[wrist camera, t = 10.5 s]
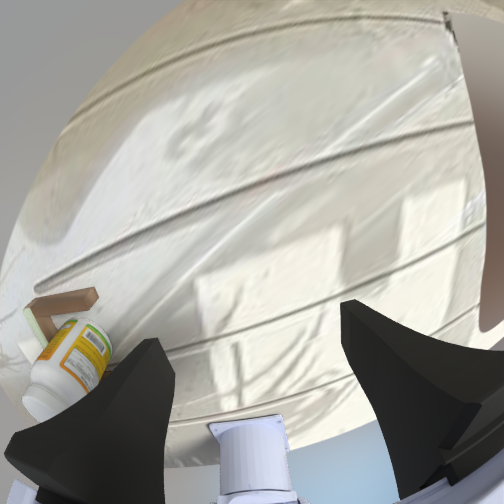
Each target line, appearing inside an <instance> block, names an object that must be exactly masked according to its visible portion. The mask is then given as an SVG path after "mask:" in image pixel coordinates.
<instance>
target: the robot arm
mask: <svg viewBox="0 0 504 504" xmlns="http://www.w3.org/2000/svg"><path fill="white" fill-rule="evenodd" d="M340 314H341V344H342V347H343V350H344V352H345V355H346V357H347V360H348V362H349V365H350V367H351V368H352V370H353V372H354V374H355V376H356V378H357V379H358V381H359V383H360V385H361V387H362V389H363V390H364V392H365V394H366V396H367V398H368V400H369V402H370V403H371V405H372V408H373V410H374V412H375V414H376V417H377V420H378V422H379V425H380V428H381V430H382V433H383V436H384V439H385V442H386V445H387V448H388V452H389V455H390V459H391V463H392V466H393V470H394V474H395V479H396V483H397V488H398V493H399V498H400V501H398V502H396V503H393V504H504V351H491V350H483V349H475V348H469V347H464V346H460V345H456V344H452V343H448V342H444V341H441V340H438V339H435V338H432V337H429V336H426V335H424V334H421V333H419V332H416V331H414V330H412V329H410V328H408V327H405V326H403V325H401V324H399V323H397V322H395V321H393V320H391V319H390V318H388V317H386V316H384V315H382V314H380V313H379V312H377V311H375V310H373V309H372V308H370V307H368V306H366V305H365V304H363V303H361V302H359V301H357V300H355V299H353V300H349V301H346V302H342V303H340ZM174 389H175V372H174V370H173V368H172V366H171V364H170V362H169V360H168V358H167V356H166V354H165V352H164V350H163V348H162V346H161V344H160V342H159V340H158V338H151V339H144V340H143V341H142V342H141V343H140V344H139V345H138V346H137V347H135V348H134V349H133V351H132V352H131V353H130V354H129V355H128V356H127V357H126V358H125V359H124V360H123V361H122V362H121V363H120V364H119V365H118V366H117V367H116V368H115V369H114V370H113V371H112V372H111V373H110V374H109V375H108V376H107V377H106V378H105V379H104V380H102V381H101V382H100V383H99V384H98V385H97V386H96V387H95V388H94V389H93V390H91V391H90V392H89V393H88V394H87V395H85V396H84V397H83V398H81V399H80V400H79V401H77V402H76V403H75V404H73V405H71V406H70V407H68V408H67V409H65V410H64V411H62V412H61V413H59V414H57V415H56V416H54V417H52V418H50V419H48V420H46V421H44V422H42V423H40V424H37V425H35V426H33V427H30V428H27V429H24V430H22V431H19V432H15V434H14V435H13V436H12V438H11V440H10V442H9V444H8V446H7V448H6V450H5V452H4V455H5V458H6V459H7V460H8V461H9V462H10V463H11V464H12V465H13V466H14V467H15V468H16V469H17V470H19V471H20V472H21V473H22V474H24V475H25V476H26V477H27V478H29V479H30V480H32V481H33V482H34V483H36V484H37V485H39V489H38V491H37V490H35V489H33V488H32V487H30V486H28V485H26V484H25V483H23V482H21V481H19V480H18V479H15V480H14V483H13V485H12V488H11V491H10V493H9V496H8V499H7V502H6V504H165V494H164V447H165V439H166V433H167V428H168V423H169V418H170V413H171V408H172V403H173V398H174ZM209 428H210V430H211V432H212V433H213V435H214V436H215V438H216V440H217V441H218V443H219V444H220V496H219V495H218V496H217V503H210V504H310V502H309V501H307V500H306V499H304V498H303V497H300V498H297V495H296V491H292V487H291V481H290V475H289V469H288V463H287V457H286V453H288V452H289V451H290V449H289V444H288V440H287V435H286V431H285V426H284V422H283V417H282V415H273V416H267V417H261V418H254V419H247V420H240V421H231V422H222V423H212V424H210V425H209Z"/></svg>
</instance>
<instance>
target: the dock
mask: <svg viewBox="0 0 504 504" xmlns="http://www.w3.org/2000/svg"><path fill="white" fill-rule="evenodd" d="M98 298H99V297H98V294H97V292H96V290H95V287H91V288H86V289H80V290H75V291H70V292H65V293H60V294H55V295H49V296H44V297H39V298H35V299H34V300H32V301H31V302H30V303H29V304H28V305H27V306H26V307H25V308H24V309H23V310H22V311H23V313H24V315H25V317H26V319H27V321H28V323H29V325H30V327H31V329H32V330H33V332H34V334H35V336H36V338H37V339H38V341H39V343H40V345H41V346H42V348H43V350H44V349H45V348H46V346H47V345H48V344H49V343H50V341H51V340H52V339H53V338H54V336H55V335H56V334H57V332H58V331H57V329H56V327H55V325H54V323H53V321H52V319H51V317H50V315H58V314H65V313H73V312H80V311H87V310H89V309H90V308H91V307H92V306H93V304H94V303H95V302H96V301H97V299H98ZM111 372H112V371H104V373H103V375H102V377H101V379H100V381H99V383H100V382H101V381H102V380H104V379H105V378H106V377H107V376H108V375H109V374H110V373H111ZM99 383H98V384H99Z"/></svg>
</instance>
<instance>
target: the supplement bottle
mask: <svg viewBox="0 0 504 504" xmlns="http://www.w3.org/2000/svg"><path fill="white" fill-rule="evenodd" d="M111 356H112V345H111V342H110V340H109V338H108V336H107V335H106V333H105V332H104V331H103V330H102V329H101V328H100V327H99V326H98V325H97V324H95V323H94V322H92V321H90V320H88V319H85V318H81V317H75V318H71V319H69V320H68V321H67V322H66V323H65V324H64V325H63V326H62V327H61V329H60V330H59V331H58V332H57V334H56V335H55V336H54V338H53V339H52V340H51V341H50V343H49V344H48V345H47V346H46V348H45V349H44V350H43V352H42V353H41V354H40V356H39V357H38V358H37V360H36V361H35V362H34V364H33V366H32V367H31V370H30V379H31V382H32V384H31V385H30V386H29V387H28V388H27V390H26V392H25V393H24V395H23V397H22V402H23V404H24V406H25V408H26V409H27V410H28V412H29V413H30V414H31V415H32V416H33V417H34V418H35V419H37V420H38V421H39V422H40V423H42V422H44V421H46V420H48V419H50V418H52V417H54V416H56V415H57V414H59V413H61V412H62V411H64V410H65V409H67V408H68V407H70V406H71V405H73V404H75V403H76V402H77V401H79V400H80V399H81V398H83V397H84V396H85V395H87V394H88V393H89V392H90V391H91V390H93V389H94V388H95V387H96V386H97V385H98V383H99V381H100V379H101V377H102V375H103V373H104V371H105V369H106V367H107V365H108V363H109V361H110V359H111Z"/></svg>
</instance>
